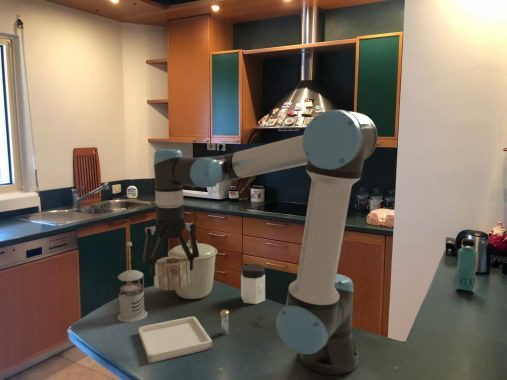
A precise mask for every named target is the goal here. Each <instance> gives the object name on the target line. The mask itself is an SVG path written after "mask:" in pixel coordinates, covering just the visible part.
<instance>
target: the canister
mask: <svg viewBox="0 0 507 380" xmlns="http://www.w3.org/2000/svg"><path fill="white" fill-rule="evenodd" d="M196 242H197V247H198V251H199V257H195V258H194V260H193V270H191V271H190V283H187V285H186V286H184V287H182V288H179V289H174V291H175V293H176V295H177V296H179V297H180V298H181V299H182V298H183V299H186V300H198V299H203V298H205V297H207V296H208V295H209V294H210V293H211V292H212V290H213V283H214V275H215V274H214V273H215V265H216V264H215V263H216V255H217V254H218V249H217V248H215V247H214V246H213V245H210V244H207V243H201V242H200V243H198V241H197V239H196ZM186 244H187V246H188V248H189V250H190V252H191V253H193V252H192V247H191V243H190V239H189V240H188V241H187V243H186ZM167 255H168V256H167V257H172V256H174V257H176V256H178V257H184V258H187V256H186V254H185V252H184V250H183V248H182V246H181V244H178V245H176V246H174V247H172V248H171V249H170V250H169V251H167Z"/></svg>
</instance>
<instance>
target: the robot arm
mask: <svg viewBox="0 0 507 380" xmlns="http://www.w3.org/2000/svg"><path fill="white" fill-rule="evenodd" d="M378 137H379V135H378V130H377V127H376V125H375V123H374V121H373V120H372V119H371V118H369V117H368V115H365V114H364V113H360V112H358V111H357V112H356V111H350V110H349V111H348V110H343V109H331V110H327V111H323V112H321V113H319V114H317V115H315V116H314V117H313V118H312V119H311V120H310V121H309V122H308V124H306V127H305V129H304V131H303V134H302V135H298V136H294V137H289V138H286V139H282V140H277V141H275V142H270V143H267V144H263V145H259V146H255V147H251V148H248V149H242V150H240V151H239V150H238V151H236V152H231V153H228V154H222V155H215V156H214V155H213V156H203V157H183V153H182V150H181V149H172V148H171V149H157V150H156V151H154V154H153V156H154V157H153V169H154V170H153V171H154V191H155V192H154V193H155V196H154V197H155V205H156V207H155V220H156V221H155V224H154V226H146V227H145V228H144V231H145V241H144V246H143V247H144V249H143V253H142V262H143V263H144V264H145V265H149V274H150V276H151V277H153V284H154V287H155V288H156V289H160V288H159V275H158V264H157V260H158V257H159V255H160V253H161V252H162V248H163V245H164V243H165V242H166V240H170V239H177V240H178V242H179V245H181V246H182V248H183V250H184V252H185V254H186V256H187V258H185V259H186V264H187V283H190V271H191V270H193V260H194V258H195V257H199V251H198V247H197V243H198V241H197V242H196V240H197V238H196V233H195V230H196V225H195V224H194V223H193V222H185V220H184V219H185V215H184V213H185V212H184V209H185V208H184V206H183V204H184V186H188V187H197V188H198V187H199V188H203V189H204V188H205V189H206V188H214V187H217V185H218V184H220V183H225V182H232V181H237V180H239V179H242V178H243V179H244V178H248V177H253V176H259V175H263V174H267V173H272V172H276V171H281V170H287V169H291V168H296V167H297V168H298V167H301V166H306V168H305V172H306V173H307V175H309V177H310V179H311V181H310V182H311V183H310V189H309V196H308V201H307V208H306V215H305V223H304V229H303V230H304V231H303V236H302V242H301V248H300V254H299V255H300V256H299V263H298V269H297V275H296V279H295V280H294V281H292V282H291V283H289V285H288V289H287V296H286V297H287V298H286V303H285V306H284V307H283V308H282V309H280V311H279V313H278V315H277V316H276V330H277V333H278V335H279V337H280V338H281V339H282V340H283V342H284V344H285V345H286V346H287V347H288V348H289V349H290V350H292V351H293V352H296V353H298V354H299V358H300V362H301V363H302V364H303V366H305V367H306V368H307V369H310V371H313V372H316V373H318V374H322V375H330V376H337V375H345V374H348V373H350V372H352V371H353V370H355V369H356V368H357V366H358V362H359V354H358V353H359V352H358V350H357V346H356V343H355V339H354V336H353V333H352V332H353V331H352V330H353V305H354V304H353V303H354V292H355V291H354V282H353V281H352V279H351V278H350V277H349V276H346V275H343V274H341V273H338V267H339V262H340V255H341V250H342V244H343V238H344V234H345V233H344V232H345V227H346V222H347V221H346V220H347V215H348V209H349V205H350V204H349V203H350V199H351V193H352V187H353V185H354V184H355V183H357V182H358V181H360V180H361V179H362V178H361V177H362V172H363V167H364V161H365V160H366V159H368V158H369V157H370V156H371V155H372V154H373V153H374V151H375V149H376V146H377V144H378ZM185 228H186V229H185ZM184 230H187V233H188V238H189V240H190V243H191V247H192V252H193V253H191V252H190V250H189V248H188V246H187V244H188V243H187V242H186V241H185V238H184V236H183V234H182V233H183V231H184ZM155 231H156V232H157V233H158V237H157V240H156V242H155V246H154V249H153V250H152V253H151V248H152V242H153V235H154V234H155ZM150 255H151V256H150Z"/></svg>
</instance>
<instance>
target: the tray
mask: <svg viewBox="0 0 507 380" xmlns="http://www.w3.org/2000/svg"><path fill="white" fill-rule="evenodd" d="M199 321H200V320H198V318H197V317H196V316H195V315H193V316H187V317H183V318H178V319H172V320H167V321H162V322H158V323H152V324H147V325H143V326H138V327H137V332H138V337H139V339H140V341H141V344H142V347H143V350H144V352H145V356H146V358H147V361H148V364H151V363H156V362H161V361H165V360H168V359H173V358H178V357H181V356H185V355H190V354H195V353H198V352H202V351H207V350H212V349H214V342H213V340H212V338H211V337H210V335H209V334H208V333H207V331H206V330H205V328H204V327H203V326H202V325H201V323H200V322H199Z"/></svg>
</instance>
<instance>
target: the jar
mask: <svg viewBox="0 0 507 380" xmlns="http://www.w3.org/2000/svg"><path fill="white" fill-rule="evenodd" d="M240 288H241V289H240V297H241V300H242V301H243V303H244V304H252V305H258V304H259V303H263V302H265V301H266V275H265V266H263V265H261V264H259V263H258V264H255V263H249V264H245V265H243V266H242V267H241V273H240Z"/></svg>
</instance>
